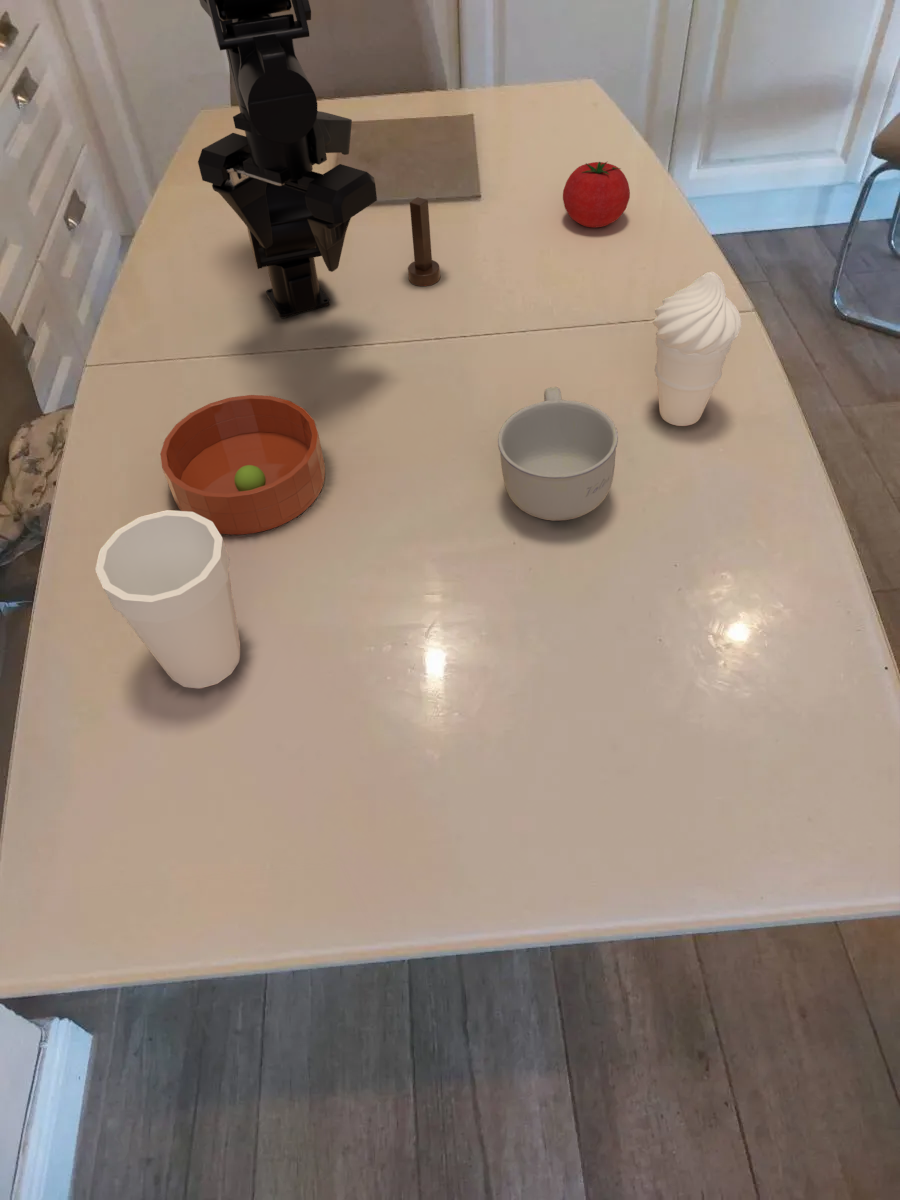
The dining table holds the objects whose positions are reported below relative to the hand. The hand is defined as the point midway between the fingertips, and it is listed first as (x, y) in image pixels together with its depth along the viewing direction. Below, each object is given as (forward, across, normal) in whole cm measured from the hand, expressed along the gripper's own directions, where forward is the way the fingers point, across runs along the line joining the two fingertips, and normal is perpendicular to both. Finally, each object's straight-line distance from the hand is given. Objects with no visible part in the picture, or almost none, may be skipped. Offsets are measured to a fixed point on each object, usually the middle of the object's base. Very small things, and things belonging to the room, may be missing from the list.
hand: (300, 257), depth 95 cm
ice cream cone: (+13, -39, -13) cm, 43 cm away
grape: (+11, -9, +21) cm, 25 cm away
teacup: (+13, -34, +3) cm, 37 cm away
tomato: (+13, -11, -45) cm, 48 cm away
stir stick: (+13, +1, -21) cm, 25 cm away
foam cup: (+13, -20, +38) cm, 45 cm away
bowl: (+13, -7, +19) cm, 24 cm away
